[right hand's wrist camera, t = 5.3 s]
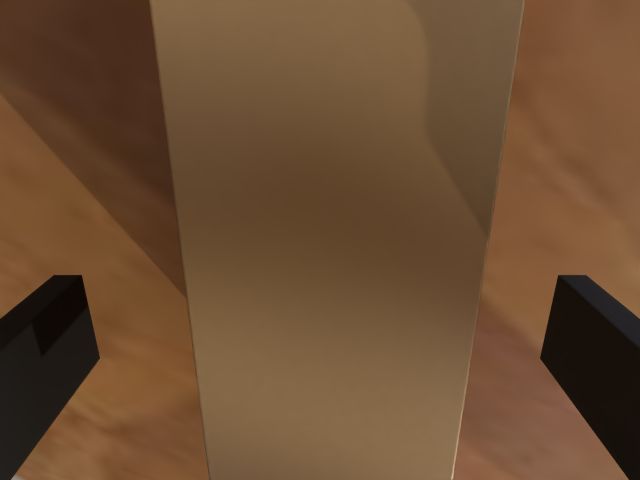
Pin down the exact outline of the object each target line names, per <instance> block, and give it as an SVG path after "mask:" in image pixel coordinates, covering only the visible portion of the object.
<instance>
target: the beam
mask: <svg viewBox="0 0 640 480" xmlns="http://www.w3.org/2000/svg"><path fill="white" fill-rule="evenodd" d="M149 4H150V12H151V20H152V28H153V36H154V44H155V52H156V60H157V67H158V75H159V83H160V91H161V99H162V107H163V115H164V123H165V131H166V139H167V147H168V155H169V163H170V171H171V179H172V187H173V195H174V203H175V210H176V218H177V226H178V234H179V242H180V250H181V258H182V266H183V274H184V282H185V290H186V298H187V306H188V314H189V322H190V330H191V338H192V346H193V353H194V361H195V369H196V377H197V385H198V393H199V401H200V409H201V417H202V425H203V433H204V441H205V449H206V457H207V465H208V473H209V480H453V475H454V469H455V462H456V455H457V449H458V442H459V435H460V429H461V422H462V416H463V409H464V402H465V396H466V389H467V383H468V376H469V369H470V363H471V356H472V349H473V343H474V336H475V330H476V323H477V316H478V310H479V303H480V296H481V290H482V283H483V277H484V270H485V263H486V257H487V250H488V244H489V237H490V230H491V224H492V217H493V210H494V204H495V197H496V191H497V184H498V177H499V171H500V164H501V158H502V151H503V144H504V138H505V131H506V124H507V118H508V111H509V105H510V98H511V91H512V85H513V78H514V71H515V65H516V58H517V52H518V45H519V38H520V32H521V25H522V19H523V12H524V5H525V0H149Z"/></svg>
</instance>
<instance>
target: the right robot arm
mask: <svg viewBox="0 0 640 480" xmlns="http://www.w3.org/2000/svg"><path fill="white" fill-rule="evenodd" d="M99 359H100V357H99V352H98V347H97V343H96V338H95V334H94V329H93V325H92V320H91V315H90V311H89V306H88V302H87V297H86V293H85V288H84V283H83V279H82V275H54V276H52V277H51V278H50V279H49V280H47V281H46V282H45V283H44V284H43V285H41V286H40V287H39V288H38V289H36V290H35V291H34V292H33V293H31V294H30V295H29V296H28V297H27V298H25V299H24V300H23V301H22V302H20V303H19V304H18V305H17V306H16V307H14V308H13V309H12V310H11V311H9V312H8V313H7V314H6V315H5V316H3V317H2V318H1V319H0V480H11V479H12V478H13V476H14V475H15V473H16V472H17V471H18V469H19V468H20V467H21V465H22V464H23V463H24V461H25V460H26V458H27V457H28V456H29V454H30V453H31V452H32V450H33V449H34V448H35V446H36V445H37V443H38V442H39V441H40V439H41V438H42V437H43V435H44V434H45V433H46V431H47V430H48V428H49V427H50V426H51V424H52V423H53V422H54V420H55V419H56V418H57V416H58V415H59V413H60V412H61V411H62V409H63V408H64V407H65V405H66V404H67V403H68V401H69V400H70V398H71V397H72V396H73V394H74V393H75V392H76V390H77V389H78V388H79V386H80V385H81V383H82V382H83V381H84V379H85V378H86V377H87V375H88V374H89V373H90V371H91V370H92V368H93V367H94V366H95V364H96V363H97V362H98V360H99ZM540 359H541V360H542V362H543V363H544V364H545V366H546V367H547V368H548V370H549V371H550V373H551V374H552V375H553V377H554V378H555V379H556V381H557V382H558V383H559V385H560V386H561V388H562V389H563V390H564V392H565V393H566V394H567V396H568V397H569V398H570V400H571V401H572V403H573V404H574V405H575V407H576V408H577V409H578V411H579V412H580V413H581V415H582V416H583V418H584V419H585V420H586V422H587V423H588V424H589V426H590V427H591V428H592V430H593V431H594V433H595V434H596V435H597V437H598V438H599V439H600V441H601V442H602V443H603V445H604V446H605V448H606V449H607V450H608V452H609V453H610V454H611V456H612V457H613V458H614V460H615V461H616V463H617V464H618V465H619V467H620V468H621V469H622V471H623V472H624V473H625V475H626V476H627V478H628V479H629V480H640V319H639V318H638V317H637V316H635V315H634V314H633V313H632V312H631V311H629V310H628V309H627V308H626V307H624V306H623V305H622V304H621V303H620V302H618V301H617V300H616V299H615V298H613V297H612V296H611V295H610V294H608V293H607V292H606V291H605V290H604V289H602V288H601V287H600V286H599V285H597V284H596V283H595V282H594V281H593V280H591V279H590V278H589V277H588V276H586V275H558V279H557V283H556V288H555V293H554V297H553V302H552V306H551V311H550V315H549V320H548V325H547V329H546V334H545V338H544V343H543V347H542V352H541V356H540Z"/></svg>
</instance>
